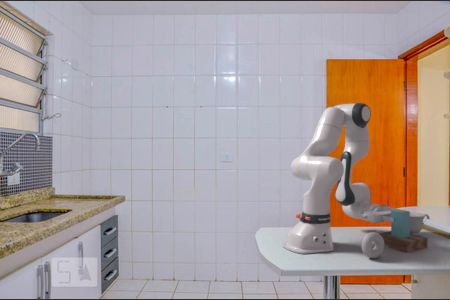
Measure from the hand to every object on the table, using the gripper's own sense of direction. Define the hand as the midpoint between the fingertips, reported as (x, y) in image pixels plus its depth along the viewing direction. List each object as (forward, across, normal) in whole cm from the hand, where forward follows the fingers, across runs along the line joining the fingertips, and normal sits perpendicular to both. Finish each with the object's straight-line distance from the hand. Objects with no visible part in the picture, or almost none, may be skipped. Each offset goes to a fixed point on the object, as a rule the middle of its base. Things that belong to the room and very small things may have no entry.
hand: (401, 219), depth 128 cm
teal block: (0, 0, +8) cm, 8 cm away
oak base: (0, 0, +12) cm, 12 cm away
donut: (+5, -24, +12) cm, 27 cm away
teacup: (-8, +22, +12) cm, 26 cm away
